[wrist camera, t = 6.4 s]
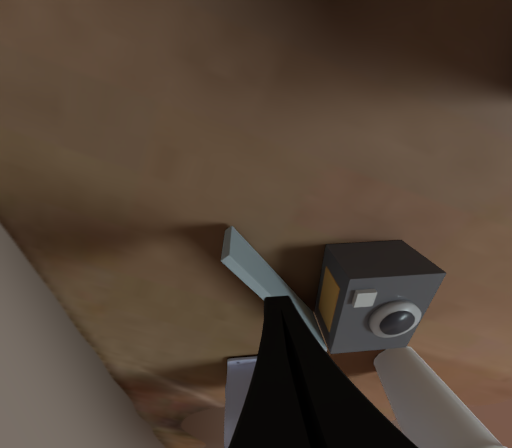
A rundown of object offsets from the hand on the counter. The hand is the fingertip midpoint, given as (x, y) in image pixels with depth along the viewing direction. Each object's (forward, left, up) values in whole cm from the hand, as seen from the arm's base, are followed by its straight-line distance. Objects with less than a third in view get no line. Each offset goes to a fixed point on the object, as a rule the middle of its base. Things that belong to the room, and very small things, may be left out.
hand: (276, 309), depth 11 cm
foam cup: (+20, -24, -9) cm, 33 cm away
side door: (+1, -6, -8) cm, 10 cm away
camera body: (+10, -7, -9) cm, 15 cm away
